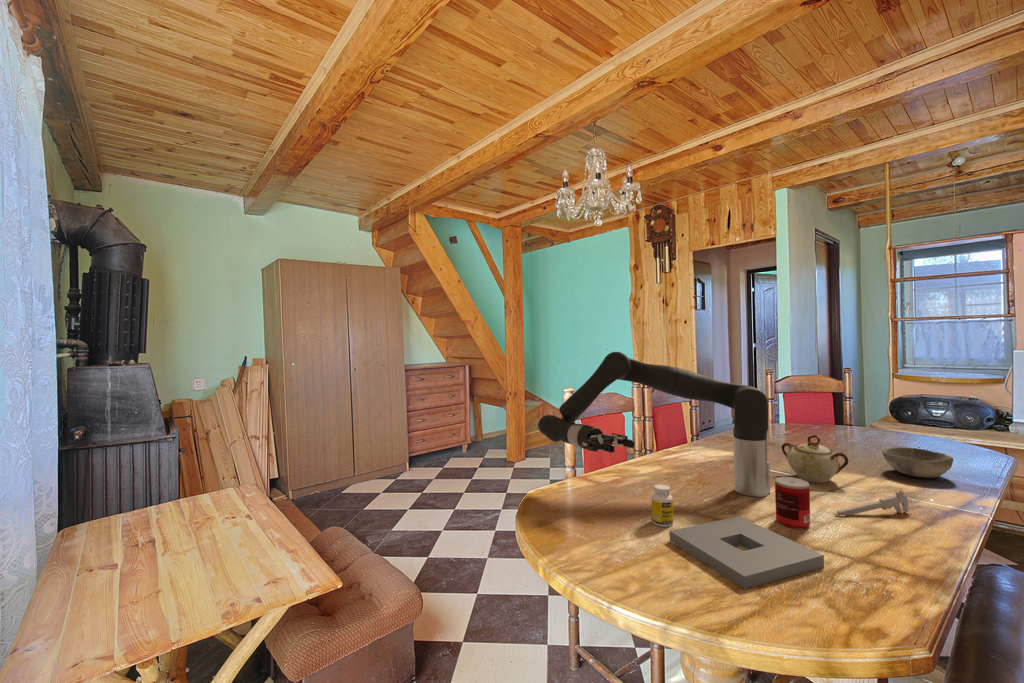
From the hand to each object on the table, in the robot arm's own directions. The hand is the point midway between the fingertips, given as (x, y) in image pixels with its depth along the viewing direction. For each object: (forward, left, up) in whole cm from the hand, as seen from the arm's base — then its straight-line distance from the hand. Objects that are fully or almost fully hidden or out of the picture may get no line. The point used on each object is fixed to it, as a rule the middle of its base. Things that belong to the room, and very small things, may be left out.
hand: (624, 446), depth 127 cm
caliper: (-58, +29, -19) cm, 68 cm away
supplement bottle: (-4, +12, -18) cm, 22 cm away
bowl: (-107, +14, -18) cm, 109 cm away
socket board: (-10, +32, -18) cm, 38 cm away
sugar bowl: (-73, +3, -18) cm, 75 cm away
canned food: (-35, +25, -18) cm, 46 cm away
